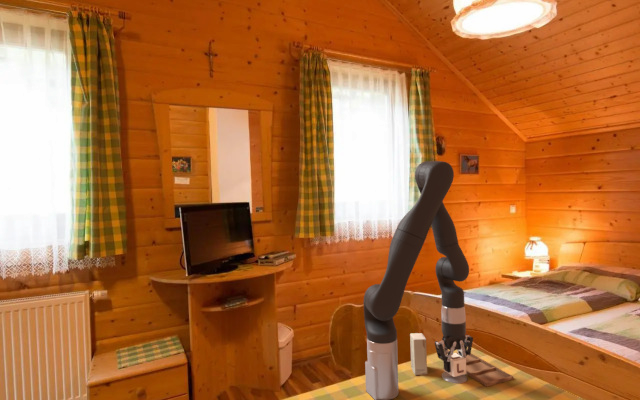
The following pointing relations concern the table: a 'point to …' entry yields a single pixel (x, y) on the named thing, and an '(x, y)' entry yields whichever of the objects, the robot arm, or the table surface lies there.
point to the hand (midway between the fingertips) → (454, 369)
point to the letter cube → (457, 365)
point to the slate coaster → (454, 378)
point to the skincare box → (418, 353)
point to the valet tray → (485, 371)
